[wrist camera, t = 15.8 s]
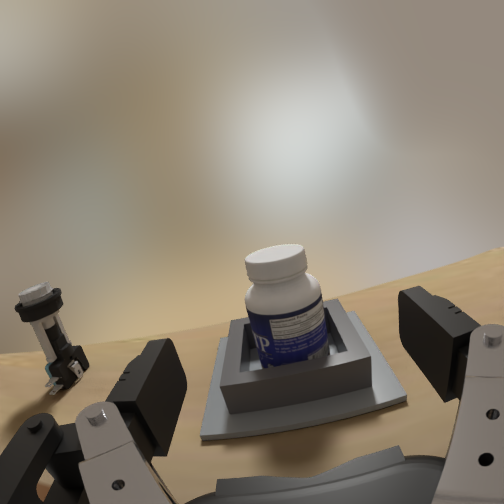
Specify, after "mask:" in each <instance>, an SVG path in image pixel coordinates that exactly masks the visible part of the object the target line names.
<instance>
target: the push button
mask: <svg viewBox="0 0 504 504" xmlns="http://www.w3.org/2000/svg"><path fill="white" fill-rule="evenodd" d="M60 295H61V290H60V289H59V288H54V289H53V288H51V287H50V284H49V282H44V283H40V284H37V285H35V286H32V287H30V288H28V289H26V290H24V291H22V292H21V293H19V298H20V301H19V302H20V303H18V304H17V305H16V306H15V310H16V312H19V315H20V317H21V320H22V321H23V322H30V324H31V325H32V327H33V329H34V331H35V334H36V336H37V338H38V340H39V342H40V345H41V347H42V349H43V351H44V353H45V355H46V357H47V358H46V360H47V362H48V364H47V365H46V366H45V370H46V372H47V373H48V375H49V377H50V380H49V382H48V383H47V384H46V385H45V387H51V386H52V384H53V385H54V387H53V390H52V391H51V392H50V393H49V394H50V395H55V394H56V392H57V391H58V390H59V389H61V388H65V389H68V388H69V387H70V386H71V385H72V384H73V382H74V381H75V380H76V379H77V378H80V377H81V376H82V375H83V370H84V369H88V367H89V362H88V360H87V358H86V356H85V354H84V352H83V349H82V347H81V346H80V345H79V346H72V345H71V344H72V343H71V341H70V340H69V338H68V336H67V334H66V332H65V330H64V327H63V325H62V322H61V320H60V317H59V315H58V313H59V309H60V308H61V307H62V305H63V302H62V299H61V296H60ZM49 383H51V384H50V385H48V384H49ZM53 391H55V392H53Z"/></svg>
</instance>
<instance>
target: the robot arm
mask: <svg viewBox="0 0 504 504" xmlns="http://www.w3.org/2000/svg"><path fill="white" fill-rule="evenodd" d="M398 307H399V334H400V339H401V342H402V345H403V347H404V348H405V350H406V351H407V352H408V354H409V355H410V356H411V358H412V359H413V360H414V362H415V363H416V364H417V366H418V367H419V368H420V370H421V371H422V372H423V374H424V375H425V376H426V378H427V379H428V381H429V382H430V383H431V385H432V386H433V387H434V389H435V390H436V392H437V393H438V394H439V396H440V397H441V399H442V400H443V401H444V403H446V402H448V401H450V400H453V399H455V398H458V399H459V400H460V402H459V406H458V411H457V415H456V419H455V424H454V428H453V432H452V435H451V439H450V443H449V446H448V450H447V453H446V456H445V458H442V457H436V456H427V455H412V456H403V453H402V451H401V449H400V447H399V445H398V446H395V447H392V448H389V449H385V450H382V451H379V452H376V453H372V454H369V455H365V456H361V457H358V458H355V459H353V460H351V461H348V462H346V463H344V464H342V465H340V466H337V467H335V468H333V469H331V470H328V471H326V472H324V473H321V474H319V475H316V476H313V477H309V478H292V477H272V476H254V477H244V478H231V479H217V484H216V492H212V493H208V494H205V495H202V496H200V497H197V498H195V499H193V500H191V501H189V502H187V503H185V504H504V326H502V325H497V324H488V325H483V326H481V325H480V324H479V323H477V322H476V321H475V320H473V319H472V318H471V317H470V316H468V315H467V314H466V313H464V312H462V310H461V309H459V308H458V307H457V306H456V307H455V305H454V304H453V303H451V302H450V301H449V300H447V299H445V298H442V297H439V296H436V295H434V296H432V295H431V294H430V293H428V292H427V291H426V290H425V289H423V288H422V287H421V286H417V287H413V288H410V289H406V290H402V291H400V292H399V295H398ZM186 391H187V380H186V375H185V373H184V370H183V367H182V365H181V362H180V360H179V357H178V354H177V352H176V349H175V346H174V344H173V342H172V340H171V339H170V338H167V339H159V340H152V341H149V342H148V343H147V345H146V346H145V348H144V350H143V351H142V353H141V355H138V356H137V357H136V358H135V359H133V360H132V361H131V362H130V363H129V364H128V365H127V367H126V368H125V370H124V372H123V374H122V375H121V376H120V378H119V381H117V383H116V384H115V386H114V388H113V389H112V391H111V393H110V394H109V396H108V397H107V399H106V401H105V402H98V403H94V404H92V405H90V406H88V407H86V408H85V409H83V410H82V411H81V412H80V413H79V414H78V416H77V418H76V421H75V423H71V424H66V425H60V426H59V425H58V424H57V422H56V421H55V419H54V418H53V416H52V415H50V414H48V413H41V414H37V415H34V416H32V417H30V418H29V419H27V420H26V421H25V422H24V423H23V424H22V425H21V427H20V428H19V430H18V431H17V432H16V434H15V435H14V437H13V438H12V439H11V441H10V442H9V444H8V445H7V447H6V448H5V450H4V451H3V452H2V454H1V455H0V504H178V502H177V501H176V499H175V498H174V497H173V495H172V494H171V492H170V491H169V489H168V488H167V486H166V485H165V483H164V482H163V480H162V479H161V477H160V476H159V474H158V473H157V471H156V469H155V468H154V466H153V465H152V463H151V460H152V457H153V456H167V454H168V451H169V447H170V444H171V441H172V437H173V434H174V431H175V427H176V424H177V421H178V417H179V414H180V411H181V407H182V404H183V401H184V398H185V394H186ZM45 468H46V470H47V471H48V472H49V473H50V474H51V475H52V477H53V478H54V482H53V484H52V486H51V488H50V490H49V492H48V494H47V496H46V498H45V500H44V502H42V501H41V500H40V498H39V497H38V495H37V491H36V486H37V483H38V481H39V479H40V477H41V475H42V473H43V471H44V470H45Z"/></svg>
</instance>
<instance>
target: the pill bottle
mask: <svg viewBox="0 0 504 504" xmlns="http://www.w3.org/2000/svg"><path fill="white" fill-rule="evenodd" d="M245 265H246V270H247V275H248V277H249V280H250V281H251V282H253V283H254V284H253V285H252V286H251V287H250V288H249V289H248V291H247V293H246V295H245V304H246V309H247V313H248V317H249V320H250V324H251V328H252V332H253V336H254V340H255V344H256V347H257V351H258V355H259V359H260V363H261V367H262V369H265V368H270V367H276V366H281V365H286V364H291V363H296V362H301V361H306V360H311V359H315V358H320V357H324V356H329V355H330V348H329V342H328V335H327V328H326V322H325V314H324V307H323V300H322V294H321V288H320V285H319V282H318V280H317V279H316V278H315V277H313V276H312V275H310V274H307V273H305V271H306V270H307V259H306V255H305V250H304V247H303V246H301V245H297V244H284V245H277V246H272V247H268V248H265V249H261V250H258V251H256V252H253V253H251V254H250V255H248V256H247V257H246V258H245Z"/></svg>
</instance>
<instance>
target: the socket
mask: <svg viewBox="0 0 504 504" xmlns="http://www.w3.org/2000/svg"><path fill="white" fill-rule="evenodd" d="M323 307H324V314H325V322H326V328H327V335H328V342H329V348H330V355H329V356H324V357H320V358H315V359H311V360H306V361H301V362H296V363H291V364H286V365H281V366H276V367H270V368H265V369H262V367H261V363H260V359H259V355H258V351H257V347H256V344H255V340H254V336H253V332H252V328H251V324H250V320H249V317H247V318H241V319H236V320H231V323H230V329H229V334H228V337H224V338H220V343H219V347H218V352H217V357H216V361H215V366H214V370H213V375H212V380H211V384H210V389H209V394H208V399H207V403H206V408H205V413H204V418H203V422H202V427H201V432H200V437H201V439H202V441H203V440H217V439H228V438H238V437H247V436H255V435H262V434H269V433H276V432H282V431H288V430H294V429H299V428H304V427H309V426H314V425H319V424H324V423H328V422H333V421H337V420H341V419H345V418H349V417H353V416H357V415H360V414H364V413H368V412H371V411H375V410H378V409H381V408H385V407H388V406H391V405H394V404H397V403H400V402H403V401H406V400H407V394H406V392H405V391H404V389H403V387H402V386H401V384H400V382H399V381H398V379H397V377H396V376H395V374H394V373H393V371H392V369H391V368H390V366H389V364H388V363H387V361H386V360H385V358H384V356H383V355H382V353H381V352H380V350H379V348H378V347H377V345H376V344H375V342H374V341H373V339H372V337H371V336H370V334H369V333H368V331H367V330H366V328H365V327H364V325H363V324H362V322H361V320H360V319H359V317H358V316H357V314H356V313H355V311H351V312H347V313H346V312H345V310H344V309H343V307H342V305H341V304H340V302H339V300H338V299H333V300H329V301H325V302H323Z"/></svg>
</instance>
